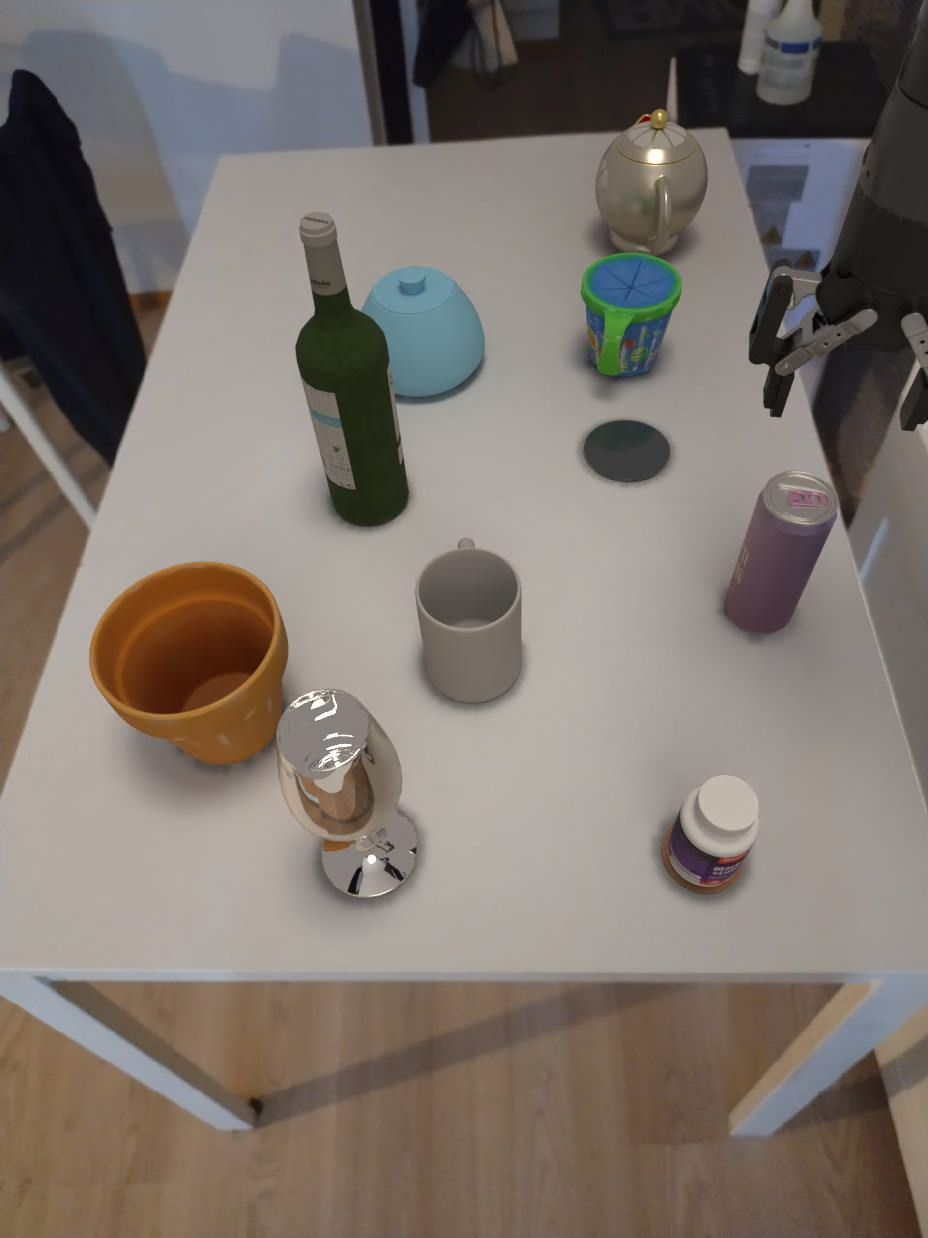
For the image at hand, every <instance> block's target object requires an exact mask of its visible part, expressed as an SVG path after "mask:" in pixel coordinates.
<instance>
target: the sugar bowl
mask: <svg viewBox="0 0 928 1238" xmlns="http://www.w3.org/2000/svg"><path fill="white" fill-rule="evenodd" d="M360 311H361V312H363V313H364V314H366V315H368V316H370V317H371V318H373V320H374V321H375V322H376V323H377V324H378V326H379V327H380V328H381V329H382V330H383V332H384V335H385V338H386V342H387V346H388V353H389V360H390V366H391V373H392V380H393V387H394V394H395V395H397V396H401V397H406V398H407V397H408V398H426V397H432V396H438V395H441V394H444V393H446V392H448V391H450V390H452V389H454V388H456V387H457V386H459V385H460V384H462V383H463V382H464V381H465V380H466V379H468V378H469V377H470V376H471V375H472V374H473V373H474V371H475V370H476V369H477V368H478V367H479V365H480V363H481V361H482V358H483V356H484V353H485V348H486V341H485V333H484V328H483V324H482V322H481V318H480V316H479V313H478V311H477V309H476V308H475V305H474V304H473V303H472V301H471V300H470V298H469V296H468V295H467V294H466V293H465V292H464V290H463V289H462V288H461V287H460V285H458V283H457V282H456V281H455V280H454V279H453V278H451V276H450V275H448V274H447V273H446V272H445V271H442V270H440V269H437V268H435V267H430V266H424V265H409V266H403V267H400V268H396V269H394V270H392V271H390V272H388V273H386V274H385V275H383V276H382V277H381V278H379V279H378V280H377V281H376V283H375V284H374V285H373V287H372V288H371V290H370V291H369V293H368V295H367V297H366V299H365V301H364V302H363V305H362V307H361V309H360Z"/></svg>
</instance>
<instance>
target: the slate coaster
mask: <svg viewBox="0 0 928 1238" xmlns="http://www.w3.org/2000/svg"><path fill="white" fill-rule="evenodd" d="M583 456H584V459H585V461H586V463H587V465H588V466H589V467H590V468H591V469H592V470H593V471H594V472H595V473H597V474H599V475H600V476H602V477H604V478H606V479H609V480H612V481H616V482H624V483H637V482H641V481H645V480H648V479H651V478H653V477H656V476H657V475H658V474H660V473H661V472H662V471H663V470H664V469H666V466H667V465H668V463H669V461H670V458H671V457H670V456H671V448H670V443H669V441H668V440H667V438H666V437H665V436H664V434H663V433H662V432H661V431H660V430H659V429H657V428H655V427H653V426H652V425H649V424H647V423H644V422H642V421H637V420H633V419H632V420H629V419H620V420H619V419H618V420H613V421H608V422H605V423H603V424H600V425H599V426H597V427H595V428H593V430H591V431H590V432H589V434H588V435H587V436H586V438H585V440H584V443H583Z"/></svg>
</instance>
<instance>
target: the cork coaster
mask: <svg viewBox="0 0 928 1238" xmlns="http://www.w3.org/2000/svg"><path fill="white" fill-rule="evenodd" d="M673 826H674V823H672V824H671V825H670V826H669V827H668V829H667V830H666V831H665V833H664V836H663V839H662V842H661V857H662V861H663V864H664V866H665V869H666V870H667V872H668V873H669V875H670V876H671V877H672V878H673V880H674V881H675V882H676V883H678V884H679V885H680V886H682V887H683V888H684V889H685V888H686V889H687V890H689V891H692V892H694V893H698V894H716V893H720V892H722V891H724V890H727V889H728V888H729V887H731V886H732V885H733V884H734V883H735V882H736V881H737V879H738V878H739V876H740V874H741V871H742V869H743V865H744V864H743V863H744V861H743V862H742V863H741V865H740V866H739V868H738V870H737V871H736V873H735V874H734V875H733V876H732V877H731V878H730V879H729V880H728V881H727V882H725V883H723V884H721V885H718V886H714V887H703V886H698V885H695V884H692V883H690V882H688V881H687V880H685V879H684V878H682V877H681V876H680V875H679V874H678V873H677V872H676V871H675V869H674V868H673V866H672V864H671V862H670V860H669V857H668V850H667V845H668V839H669V835H670V833H671V830H672V828H673Z"/></svg>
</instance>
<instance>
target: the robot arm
mask: <svg viewBox="0 0 928 1238" xmlns="http://www.w3.org/2000/svg"><path fill="white" fill-rule="evenodd" d="M915 21H916V22H915V25H914V27H913V30H912V33H911V36H910V39H909V41H908V45H907V48H906V51H905V54H904V56H903V59H902V63H901V65H900V69H899V71H898V75H897V78H896V80H895V83H894V86H893V88H892V90H891V92H890V95H889V97H888V99H887V100H886V103H885V105H884V107H883V109H882V111H881V113H880V116H879V118H878V120H877V123H876V125H875V128H874V132H873V134H872V136H871V137H872V138H871V139H870V142H869V144H868V145H867V146H866V148H865V151H864V153H863V157H862V160H861V170H860V172H859V176H858V178H857V181H856V185H855V188H854V191H853V193H852V197H851V200H850V203H849V206H848V209H847V212H846V215H845V218H844V220H843V224H842V227H841V229H840V233H839V235H838V238H837V239H838V240H837V242H836V245H835V248H834V251H833V254H832V256H831V258H830V260H829V261H828V263H827V264H826V265H825V266H824V267H823V268H822V269H820V271H819V272H817V271H809V270H803V269H802V270H801V269H794V265H793V262H792V261H791V260H790V259H788V258H779V259H778V260H776V261H774V262H773V264H772V266H771V269H770V273H769V274H768V278H767V280H766V283H765V287H764V289H763V292H762V294H761V297H760V301H759V304H758V307H757V310H756V313H755V315H754V318H753V320H752V324H751V327H750V329H749V333H748V362H750V364H752V365H757V366H758V365H759V366H760V365H763V364H764V365H766V366H768V367H769V368H768V372H767V375H766V378H765V381H764V385H763V388H762V405H763V408H764V409H766V410H767V409H768V410H769V417H770V418H779V419H781V418H782V416H783V413H784V410H785V407H786V404H787V402H788V397H789V395H790V394H791V393H790V392H791V390H792V387H793V383H794V381H795V378H796V377H795V376H796V373H795V371H797V370H799V368H801V367H803V366H804V365H805V364H807V363H808V362H810V361H812V360H813V359H815V360H819V359H821V358H823V357H825V356H826V355H827V354H829V353H830V352H832V351H833V350H834V349H836V348H837V347H839V346H840V345H844V349H845V350H858V351H859V350H869V349H875V350H878V351H880V352H884V353H892V354H899V352H900V350H904V349H907V348H910V347H911V349H912V351H913V353H914V355H915V357H916V359H917V362H918V363H919V365H920V367H919V368H918V370H917V373H916V375H915V377H914V379H913V381H912V383H911V385H910V387H909V389H908V392H907V394H906V396H905V398H904V400H903V403H902V404H901V407H900V410H899V424H900V429H901V431H905V432H915V430H916V429H917V426H918V425H925V424H926V423H927V422H928V0H923V2H922V5H921V7H920V10H919V13H918V16H917V18H916V20H915ZM808 296H814V297H815V301H816V303H817V305H816V306H814V307H813V308H812V309H811V310H809V311H808V312H807V313H805V314H804V315H803V317H802V319H801V321H800V322H799V323H798V324H797V325H795V326H794V327H792V329H790V330H789V331H787V332H785V334H784V335H782V336H781V337H779V336H778V333H779V331H780V328H781V326H782V322H783V320H784V317H785V314H786V312H787V311H789V312H793V311H794V310H795V308H796V307H798V306H799V305H800V304H801V302H802V301H803V300H804V299H805V298H806V297H808ZM827 325H828V326H827Z"/></svg>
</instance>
